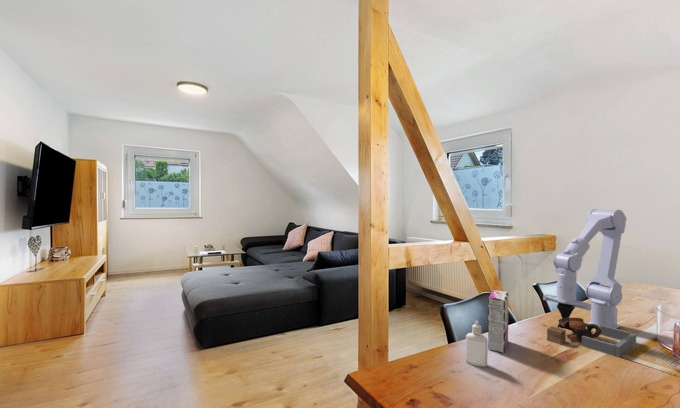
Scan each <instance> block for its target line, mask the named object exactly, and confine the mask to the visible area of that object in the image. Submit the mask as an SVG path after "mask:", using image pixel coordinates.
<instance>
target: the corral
mask: <svg viewBox="0 0 680 408" xmlns="http://www.w3.org/2000/svg"><path fill="white" fill-rule="evenodd" d="M600 329H601V334H600V335H602V336H605V337H609V338H613V339H617V340H619V341H618V342H617V343H615V344H614V343H610V342H607V341H603V340H601V339H597V338H590V337H586V336H582V343H581V346H582V347H585V348H588V349H591V350H595V351H597V352H601V353H603V354H607V355H611V356H614V357H617V358H619V357H620V356H623V354H625V351H626V352H627V351H628V350H629V349H631V348H632V347H633V346H634V345H636V344H637V333H635V332H631V331H627V330H622V329H619V328H617V329H615V328H611V327H607V326H603V325H601V326H600ZM631 346H632V347H631ZM630 347H631V348H630Z"/></svg>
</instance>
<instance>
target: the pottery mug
mask: <svg viewBox="0 0 680 408" xmlns="http://www.w3.org/2000/svg"><path fill="white" fill-rule="evenodd" d="M557 322H558V324H557V328H560V329H564V330H568V331H571V332H572V333H573V335H569V340H570V342H571V343H572V344H573V343H574V344H575V343H576V344H577V343H581V344H582V336H586V337H590V338H593V339H597V338H598V337H599V336H600V335H601V329H600V327H599V326H598V325H596V324H586V322H585V321H584V319H583V318H581V317H569V318H562V317H561V318H559V319H558V320H557ZM593 329H594V330H595V332H594V333H593V332H592V331H593Z"/></svg>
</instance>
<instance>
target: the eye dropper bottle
mask: <svg viewBox="0 0 680 408" xmlns="http://www.w3.org/2000/svg"><path fill="white" fill-rule="evenodd" d="M471 329H472V330H471V332H468V333H467V334H466V335H465V359H464V360H465V363H467V364H469V365H472V366H476V367H481V368H485V367H487V365H488V338H487V336H485V335H484V334H482V326H481V325H480V323H479V320H475V322H474V324H472V326H471Z"/></svg>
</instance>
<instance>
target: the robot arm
mask: <svg viewBox="0 0 680 408" xmlns="http://www.w3.org/2000/svg"><path fill="white" fill-rule="evenodd" d="M586 220H587V221H586V224H585V226H584V228H583V229H582V230H581V232H580V234H579V235H578V237H573V238H572V239H571V241H570V242H569V243H568V245H567V246H566V247H565V249H564V250H563V251H562V252H560V253H558V254H556V255H555V257H554V259H553V261H552V262H553V265H554V267H555V272H556V275H557V276H556V295H553V294H547V293H545V294H543V299H542V300H543V301H549V302H553V303H557V304H556V308H557V309H558V311H559V313H560V316H561V319H562V318H571V317H570V316H571V314H572V313H573V311H574V310H575V308H579V309H583V310H585V311H588V312H589V311H590V320H589V321H588V322H587V323H586V322H585V323H586V324H596V325H598V326H599V327H600V326H601V325H603V326H607V327H611V328H615V329H619V328H620V327H621V325H620V324H618V308H617V306H618V305H619V304H620V303H621V302H622V299H623V291H622V287H623V286H622V285H621V284H620V283H619V282H618V281H617V280H616V279H615V276H616V275H615V274H616V269H617V264H618V259H619V252H620V246H621V240H622V235H623V234H624V233H625V229H626V223H627V216H626V215H625V213H624V212H623V210H621V209H594V208H593V209H591V210H590V211H589V212H588V214H587V215H586ZM599 232H600V233H601V234H602V242H601V247H600V253H599V259H598V265H597V270H596V275H594V276H592V277H590V278H589V279H588V282H587V285H586V286H585V290H584V292H585V296H586V297H587V298H588V301H590V303H589V302H588V303H587V302H584V301H581V300H577V279H578V278H577V276H578V274H577V272H578V271H579V270H580V269H581V267H582V262H583V257H584V256H585V255H586V254H587V252H588V251H589V249H590V247H591V246H590V243H589V242H591V240H592V239H593V238H594V237H595V236H596V235H597V234H598V233H599Z"/></svg>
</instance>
